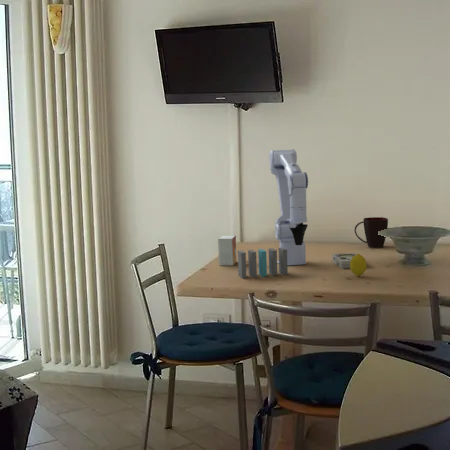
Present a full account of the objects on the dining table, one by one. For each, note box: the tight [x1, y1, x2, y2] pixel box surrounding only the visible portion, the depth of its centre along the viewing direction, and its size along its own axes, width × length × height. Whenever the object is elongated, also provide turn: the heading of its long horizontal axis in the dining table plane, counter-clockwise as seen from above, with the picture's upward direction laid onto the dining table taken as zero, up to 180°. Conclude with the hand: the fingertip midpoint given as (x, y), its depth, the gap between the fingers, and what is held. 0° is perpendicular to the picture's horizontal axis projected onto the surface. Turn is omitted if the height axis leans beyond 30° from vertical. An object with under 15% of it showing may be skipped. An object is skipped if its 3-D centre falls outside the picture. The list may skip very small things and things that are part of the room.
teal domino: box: [257, 248, 268, 278], centre depth 242 cm, size 2×5×9 cm, turn 12°
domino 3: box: [267, 247, 278, 277], centre depth 243 cm, size 2×5×9 cm, turn 13°
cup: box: [354, 216, 389, 249], centre depth 290 cm, size 10×14×12 cm
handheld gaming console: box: [331, 252, 358, 270], centre depth 256 cm, size 9×4×15 cm
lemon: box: [349, 253, 367, 277], centre depth 235 cm, size 6×6×8 cm
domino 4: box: [278, 247, 288, 276], centre depth 244 cm, size 2×5×9 cm, turn 13°
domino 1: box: [237, 249, 247, 279], centre depth 240 cm, size 2×5×9 cm, turn 13°
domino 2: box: [247, 249, 258, 278], centre depth 241 cm, size 2×5×9 cm, turn 13°
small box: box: [217, 235, 238, 266], centre depth 265 cm, size 8×6×10 cm
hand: (298, 245), depth 244 cm, fingers closed
